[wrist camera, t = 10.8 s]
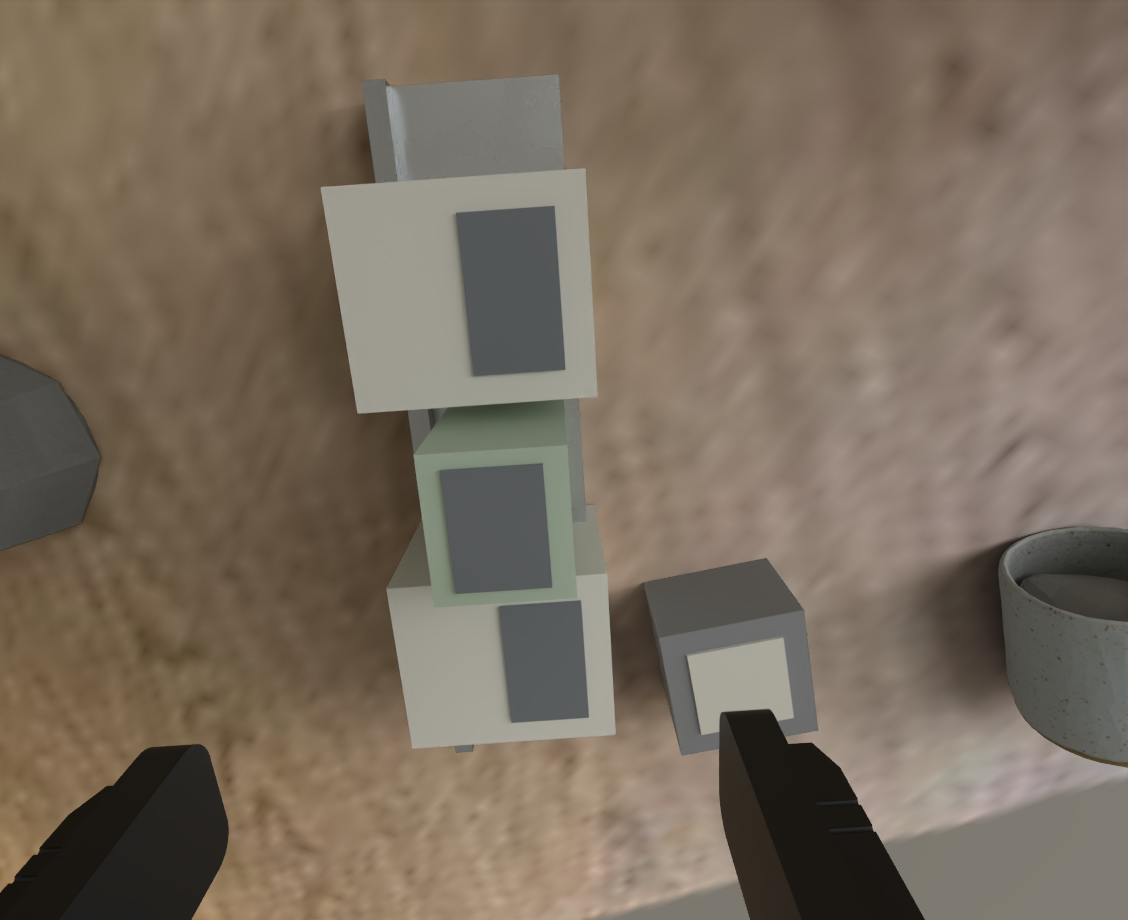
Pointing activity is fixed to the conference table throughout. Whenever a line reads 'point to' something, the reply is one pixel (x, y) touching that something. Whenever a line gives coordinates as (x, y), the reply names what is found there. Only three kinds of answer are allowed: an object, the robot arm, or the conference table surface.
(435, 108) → the rail
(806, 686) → the block
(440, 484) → the module
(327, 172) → the conference table surface
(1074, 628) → the ceramic mug
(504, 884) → the conference table surface
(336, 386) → the conference table surface
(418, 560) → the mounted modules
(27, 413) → the coffeepot
